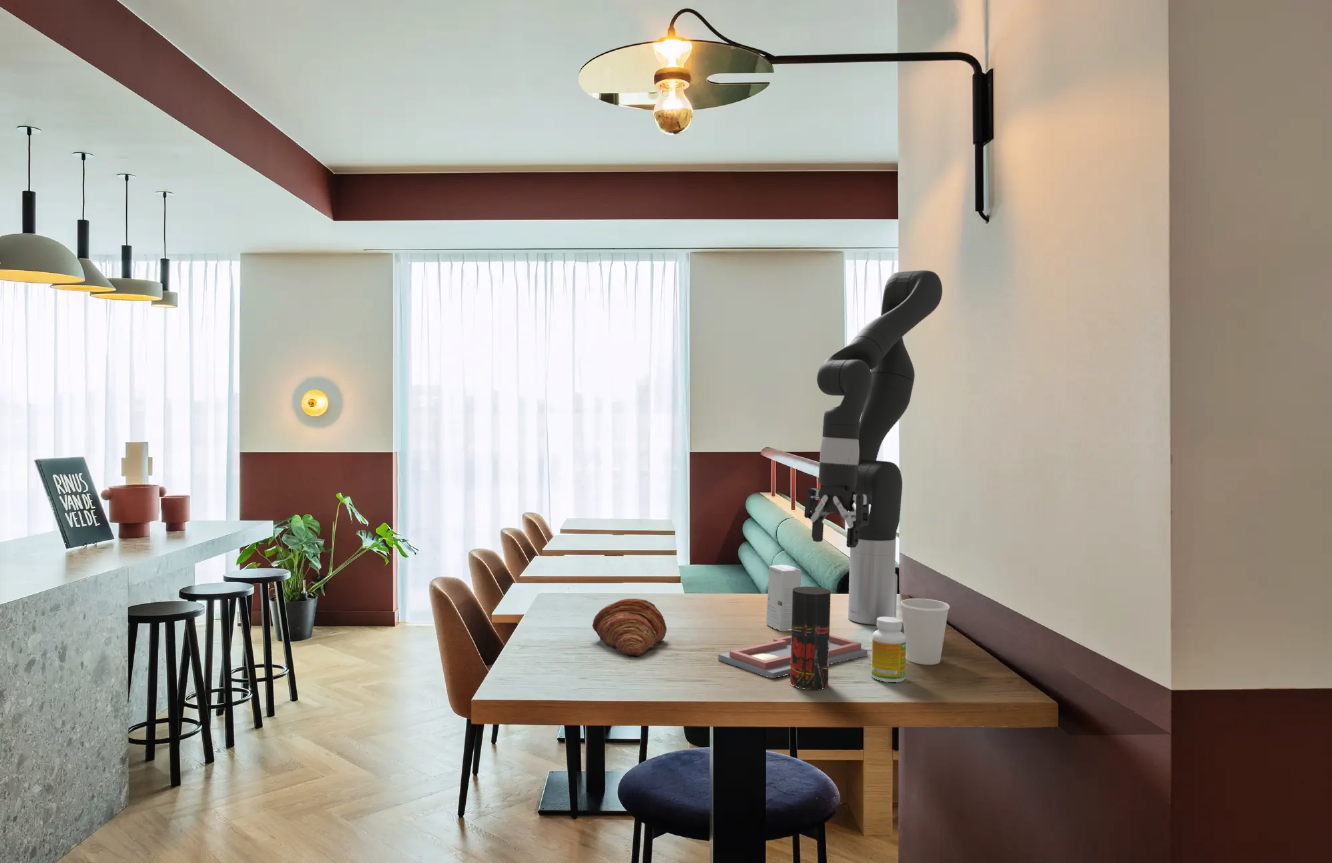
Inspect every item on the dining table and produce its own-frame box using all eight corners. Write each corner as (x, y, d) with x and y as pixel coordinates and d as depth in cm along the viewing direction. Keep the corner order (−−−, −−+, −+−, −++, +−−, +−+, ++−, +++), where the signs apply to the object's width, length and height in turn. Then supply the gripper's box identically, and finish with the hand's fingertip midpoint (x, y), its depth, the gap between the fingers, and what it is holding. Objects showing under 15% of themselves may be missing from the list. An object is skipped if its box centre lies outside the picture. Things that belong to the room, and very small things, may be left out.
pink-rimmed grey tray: (812, 639, 168) (812, 628, 168) (867, 655, 158) (867, 644, 158) (718, 660, 153) (718, 648, 153) (772, 679, 143) (773, 666, 143)
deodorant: (786, 678, 143) (788, 586, 143) (822, 678, 144) (825, 586, 143) (794, 690, 138) (797, 594, 137) (832, 690, 138) (835, 594, 138)
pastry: (692, 643, 164) (693, 600, 164) (634, 660, 153) (635, 614, 153) (628, 627, 176) (629, 586, 175) (569, 641, 164) (570, 598, 164)
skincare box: (765, 624, 179) (766, 565, 178) (784, 623, 180) (786, 563, 180) (780, 632, 173) (782, 570, 173) (800, 630, 175) (802, 569, 174)
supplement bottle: (906, 684, 142) (907, 624, 141) (871, 681, 143) (873, 621, 142) (903, 674, 147) (905, 616, 147) (870, 672, 148) (872, 614, 148)
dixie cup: (946, 669, 151) (948, 610, 150) (896, 663, 153) (898, 605, 153) (949, 656, 158) (951, 600, 158) (901, 651, 161) (902, 596, 161)
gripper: (880, 464, 170) (875, 548, 170) (824, 459, 181) (819, 539, 181) (855, 463, 166) (850, 550, 166) (798, 458, 177) (794, 540, 177)
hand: (834, 544), depth 173 cm, fingers open, 8 cm apart
